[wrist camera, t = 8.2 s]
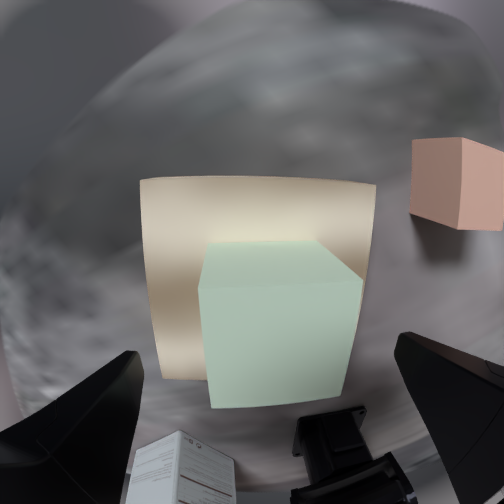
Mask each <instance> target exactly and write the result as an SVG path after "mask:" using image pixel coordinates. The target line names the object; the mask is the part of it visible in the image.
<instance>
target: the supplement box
mask: <svg viewBox="0 0 504 504" xmlns="http://www.w3.org/2000/svg"><path fill="white" fill-rule="evenodd" d="M126 504H237V503H236V488H235V473H234V461H233V459H231V458H230V457H228V456H226V455H224V454H222V453H220V452H218V451H216V450H215V449H213V448H211V447H209V446H207V445H206V444H204V443H202V442H200V441H198V440H197V439H195V438H193V437H192V436H190V435H188V434H186V433H185V432H183V431H181V430H179V431H176V432H175V433H173V434H171V435H169V436H167V437H164V438H162V439H160V440H158V441H156V442H154V443H152V444H149V445H147V446H145V447H143V448H140V449H138V450H136V455H135V460H134V464H133V468H132V473H131V478H130V483H129V488H128V493H127V499H126Z"/></svg>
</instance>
